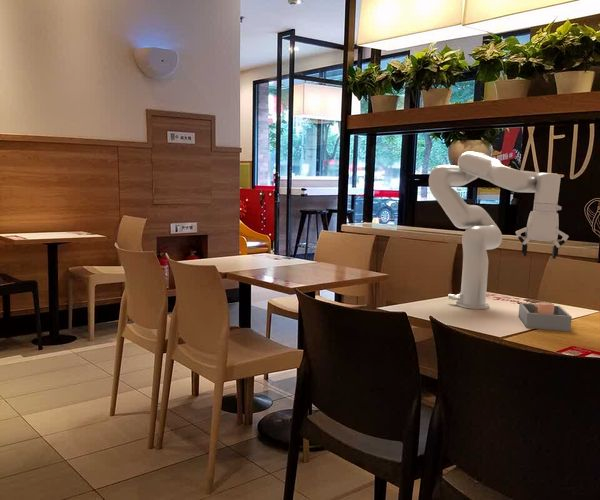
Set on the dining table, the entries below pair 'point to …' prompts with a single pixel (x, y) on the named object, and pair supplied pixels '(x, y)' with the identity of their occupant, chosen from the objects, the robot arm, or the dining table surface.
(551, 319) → the tote
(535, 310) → the walnut cube
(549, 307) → the terracotta cylinder
